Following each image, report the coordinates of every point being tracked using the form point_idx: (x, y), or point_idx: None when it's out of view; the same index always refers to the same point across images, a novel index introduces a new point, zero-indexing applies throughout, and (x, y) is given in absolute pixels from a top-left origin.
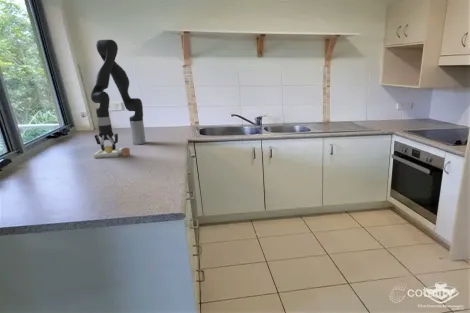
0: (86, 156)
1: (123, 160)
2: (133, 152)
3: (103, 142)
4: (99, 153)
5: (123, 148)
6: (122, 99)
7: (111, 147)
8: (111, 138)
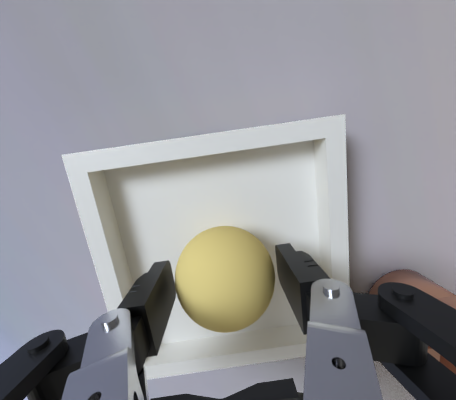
0: (21, 280)
1: (399, 395)
2: (434, 179)
3: (131, 347)
4: (128, 269)
5: None
6: None
7: (271, 295)
8: (332, 369)
